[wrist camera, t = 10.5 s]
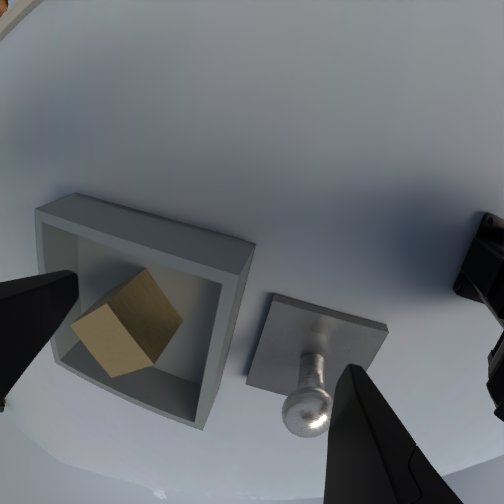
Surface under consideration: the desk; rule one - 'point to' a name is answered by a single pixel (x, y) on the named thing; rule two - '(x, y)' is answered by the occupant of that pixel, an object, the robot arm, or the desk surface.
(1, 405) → the cable
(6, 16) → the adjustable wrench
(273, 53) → the desk surface
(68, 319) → the bin
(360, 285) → the desk surface
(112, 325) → the wooden block
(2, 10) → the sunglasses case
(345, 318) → the metal ball pedestal
